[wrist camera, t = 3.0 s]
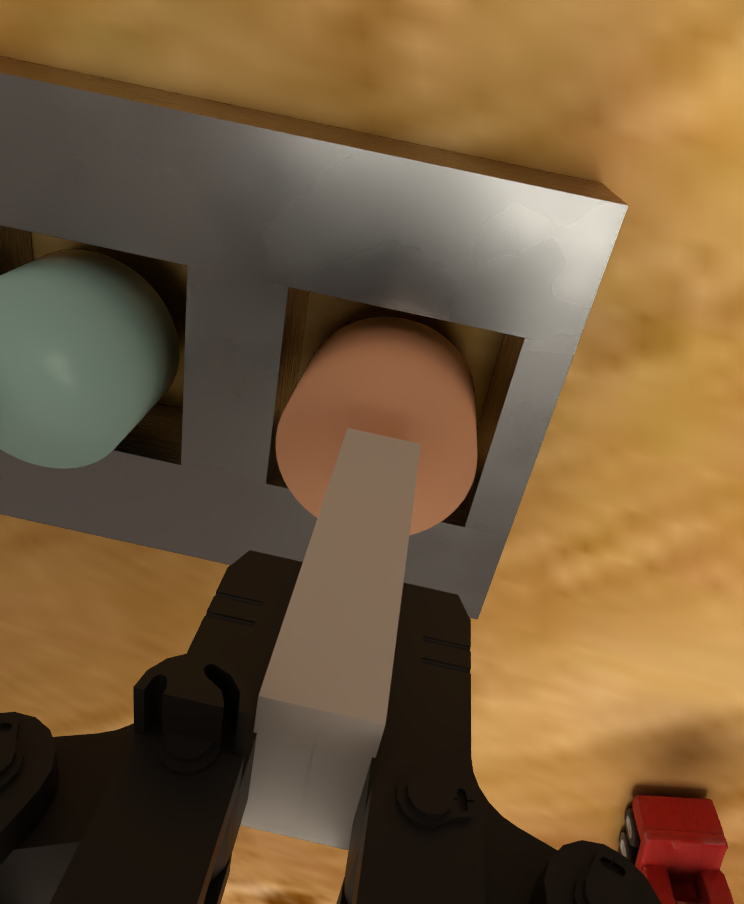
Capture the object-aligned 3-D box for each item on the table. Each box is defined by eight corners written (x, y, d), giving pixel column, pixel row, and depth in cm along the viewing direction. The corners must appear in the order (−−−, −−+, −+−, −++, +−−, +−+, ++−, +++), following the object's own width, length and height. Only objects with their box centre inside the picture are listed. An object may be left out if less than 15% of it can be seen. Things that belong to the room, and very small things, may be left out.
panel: (-210, 405, 23) (-296, 448, 20) (-344, -17, 16) (-493, -32, 14) (476, 555, 22) (477, 619, 20) (602, 183, 16) (627, 205, 14)
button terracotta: (293, 454, 19) (266, 515, 16) (315, 299, 16) (287, 342, 14) (452, 488, 19) (449, 555, 16) (496, 338, 16) (502, 388, 14)
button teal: (20, 394, 19) (-50, 446, 16) (3, 232, 17) (-83, 262, 14) (177, 428, 19) (131, 486, 16) (181, 270, 16) (129, 308, 14)
